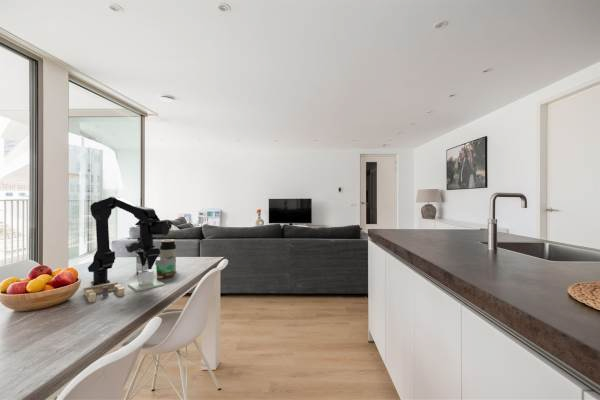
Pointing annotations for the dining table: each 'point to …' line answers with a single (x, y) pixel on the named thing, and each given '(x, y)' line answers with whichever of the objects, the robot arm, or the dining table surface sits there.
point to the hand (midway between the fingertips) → (146, 267)
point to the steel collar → (146, 277)
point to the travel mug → (168, 250)
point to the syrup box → (138, 264)
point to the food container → (165, 268)
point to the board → (138, 287)
